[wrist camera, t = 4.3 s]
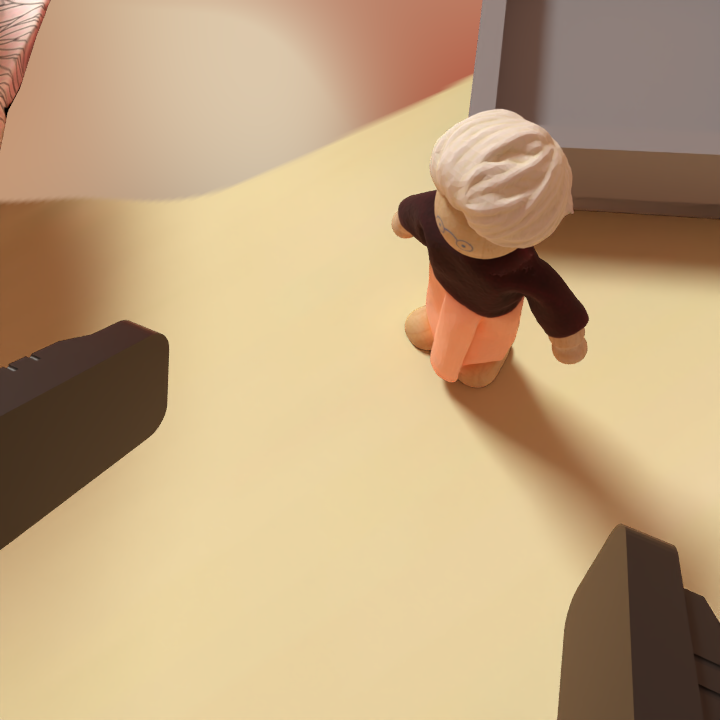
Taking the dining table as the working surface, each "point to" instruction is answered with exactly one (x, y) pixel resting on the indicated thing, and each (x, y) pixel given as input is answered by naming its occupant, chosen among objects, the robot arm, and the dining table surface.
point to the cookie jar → (16, 46)
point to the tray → (613, 95)
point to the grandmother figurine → (491, 246)
